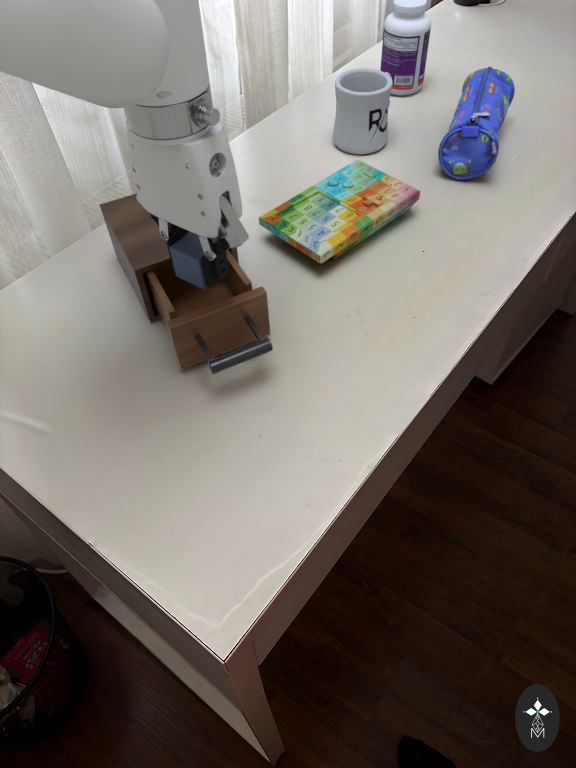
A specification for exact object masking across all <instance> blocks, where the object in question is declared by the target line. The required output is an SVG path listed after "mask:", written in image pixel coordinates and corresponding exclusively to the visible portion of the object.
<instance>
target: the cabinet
mask: <svg viewBox="0 0 576 768" xmlns="http://www.w3.org/2000/svg"><path fill="white" fill-rule="evenodd" d="M137 193H138V192H137ZM137 193H132V194H130V195H125V196H123V197H120V198H117V199H113V200H110V201H107V202H103V203H99V208H100V210H101V211H100V212H101V214H102V217H103V220H104V223H105V227H106V228H107V233H108V235H109V238H110V241H111V244H112V248H113V249H114V253H115V256H116V259H117V261H118V262H119V265H120V267H121V269H122V271H123V272H124V274H125V277H126V278H127V280H128V282H129V284H130V286H131V288H132V290H133V292H134V295H135V297H136V298H137V300H138V302H139V304H140V306H141V308H142V310H143V311H144V313H145V315H146V318H147V319H148V322H149V323H150V324H153V323H156V322H159V321H162V319H161V317H160V315H159V313H158V311H157V309H156V307H155V306H154V304H153V302H152V300H151V298H150V296H149V294H148V290H147V287H146V284H145V280H144V277H143V273H144V272H147V271H150V270H153V269H156V268H159V267H162V266H165V265H168V264H171V259H170V255H169V251H168V247H167V243H166V242H168V240H164V239H163V238H162V237H161V235H160V230H159V226H158V225H157V223H156V222H155V221H154V220H153V219H152V218H151V215H150V213H149V212H148V211H147V210H146V209H145V208H144V207H143V206H142V205H141V204H140V203H139V202H138V200H137V198H136V196H137ZM216 238H217V237H216ZM228 250H229V251H230V253H231V254H232V256H233V257H234V258H235V260H236V261H237V263H238V264H239V265H240V262H239V254H238V247H235V248H229V249H228Z"/></svg>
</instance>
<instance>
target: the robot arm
mask: <svg viewBox="0 0 576 768" xmlns="http://www.w3.org/2000/svg"><path fill="white" fill-rule="evenodd" d="M199 1H200V0H0V72H1V73H4V74H6V75H9V76H12V77H16V78H18V79H20V80H23V81H26V82H29V83H32V84H35V85H38V86H41V87H44V88H47V89H49V90H52V91H55V92H58V93H62V94H64V95H67V96H69V97H73V98H75V99H79V100H82V101H83V102H87V103H91V104H93V105H95V106H100V107H103V108H106V109H123V111H124V117H125V119H126V120H125V127H126V139H127V140H126V141H127V147H128V155H129V159H130V165H131V171H132V176H133V180H134V183H135V188H136V191H137V196H136V198H137V200H138V202H139V203H140V204H141V205H142V206H143V207H144V208H145V209H146V210H147V211H148V212H149V213H150V215H151V218H152V219H153V220H154V221H155V222H156V223H157V225H158V226H159V230H160V235H161V237H162V238H163V239H164V240H168V242H166V243H167V247H168V251H169V255H170V259H171V263H172V268H173V270H174V271H175V269H174V265H173V260H172V256H171V252H170V247H171V246H172V245H173V244H174V243H176V242H177V241H178V240H179V239H181V238H182V237H183V236H184V235H186V234H187V233H188V232H189V231H190V232H193V233H195V234H198V237H199V240H200V243H201V246H202V248H203V251H204V254H205V255H204V256H203V257H202V258H201V259H202V265H203V270H204V276H205V281H206V285H207V287H209V288H213V287H214V286H215V285H216V284H218V283H219V282H220V281H221V280H222V279H224V278H225V277H226V276H227V274H228V273H229V268H228V261H227V254H226V250H227V249H229V248H235V247H237V248H238V247H241V246H242V245H243V244H245V243H246V242H247V241H248V240H249V238H250V236H249V234H248V232H247V230H246V228H245V227H244V225H243V224H242V222H241V220H240V218H241V217H242V216H243V204H242V196H241V189H240V184H239V179H238V174H237V169H236V165H235V160H234V157H233V153H232V149H231V145H230V142H229V140H228V136H227V133H226V131H225V128H224V126H223V124H222V122H220V119H221V118H220V117H221V114H220V110H219V109H218V108H214V103H213V96H212V89H211V81H210V74H209V66H208V59H207V52H206V51H207V50H206V44H205V38H204V37H205V36H204V31H203V29H204V28H203V23H202V15H201V9H200V2H199ZM216 237H217V241H216V242H215V243H213V242H212V239H211V238H216Z"/></svg>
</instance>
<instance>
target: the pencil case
mask: <svg viewBox="0 0 576 768" xmlns="http://www.w3.org/2000/svg"><path fill="white" fill-rule="evenodd" d="M515 93H516V88H515V83H514V80H513V79H512V78H511V76H510V75H509V74H508V73H506V72H505V71H502V70H501V69H498V68H493V67H492V66H488V67H483V68H479V69H477V70H474V71H472V72H471V73H470V74H468V75H467V76H466V78H465V80H464V82H463V84H462V88H461V95H460V97H459V100H458V102H457V106H456V108H455V111H454V114H453V118H452V120H451V123H450V125H449V128H448V131H447V132H446V134H445V135H444V136H443V138H442V139H441V141H440V143H439V146H438V149H437V150H438V151H437V157H438V162H439V165H440V168H441V169H442V170H443V172H444V173H445V174H446V175H448V176H449V177H451V178H452V179H454V180H456V181H467V180H471V179H474V178H478V177H480V176H483V175H484V174H486V173H487V172H488V171H489V170H490V169H491V168H492V167H493V166H494V164H495V162H496V161H497V158H498V156H499V151H500V150H499V149H500V144H499V143H500V142H499V140H498V137H499V132H500V130H501V128H502V126H503V124H504V121H505V119H506V118H507V114H508V111H509V108H510V106H511V105H512V102H513V100H514V97H515Z"/></svg>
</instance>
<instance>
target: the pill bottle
mask: <svg viewBox="0 0 576 768" xmlns="http://www.w3.org/2000/svg"><path fill="white" fill-rule="evenodd" d="M392 2H393V4H392V12H390V13H389V14H388V15H387V16H386V18H385V20H384V23H383V24H384V25H383V33H382V45H381V46H382V47H381V56H380V57H381V59H380V68H379V69H380V70H379V71H382V72H384V73H385V72H388V73H390V75H391V77H392V83H393V85H392V89H391V94H390V95H394V96H409V95H412V94H415V93H417V92H418V91H420V90H421V89H422V87H423V86H424V81H425V72H426V66H427V65H426V64H427V59H428V52H429V51H428V50H429V45H430V37H431V29H432V20H431V18H430V16H429V15H428V14H427V13H426V10H427V3H428V0H393V1H392Z"/></svg>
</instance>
